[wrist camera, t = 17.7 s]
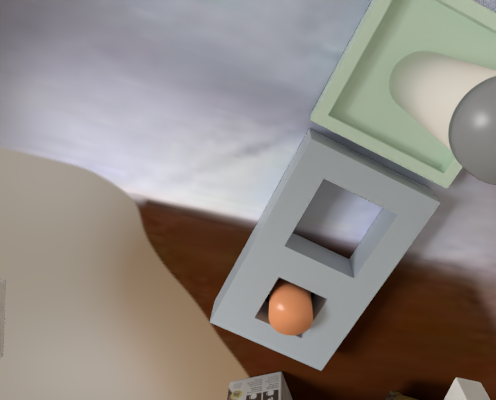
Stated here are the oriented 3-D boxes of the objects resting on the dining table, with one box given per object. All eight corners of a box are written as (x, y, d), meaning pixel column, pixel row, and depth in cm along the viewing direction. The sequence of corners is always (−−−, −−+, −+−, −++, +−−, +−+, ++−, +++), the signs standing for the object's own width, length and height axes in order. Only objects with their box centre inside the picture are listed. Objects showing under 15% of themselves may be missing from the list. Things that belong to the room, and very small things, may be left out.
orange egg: (262, 300, 46) (260, 324, 43) (281, 269, 45) (281, 291, 41) (298, 316, 47) (300, 341, 43) (318, 286, 45) (321, 309, 42)
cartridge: (398, 123, 39) (472, 201, 23) (377, 64, 38) (443, 104, 22) (461, 98, 38) (584, 161, 22) (442, 36, 36) (561, 56, 21)
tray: (309, 115, 40) (311, 120, 38) (393, -39, 35) (399, -41, 33) (439, 180, 42) (447, 188, 40) (536, 41, 37) (550, 43, 35)
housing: (214, 301, 48) (209, 322, 45) (309, 128, 41) (311, 138, 37) (318, 347, 49) (321, 370, 46) (428, 187, 42) (440, 203, 39)
